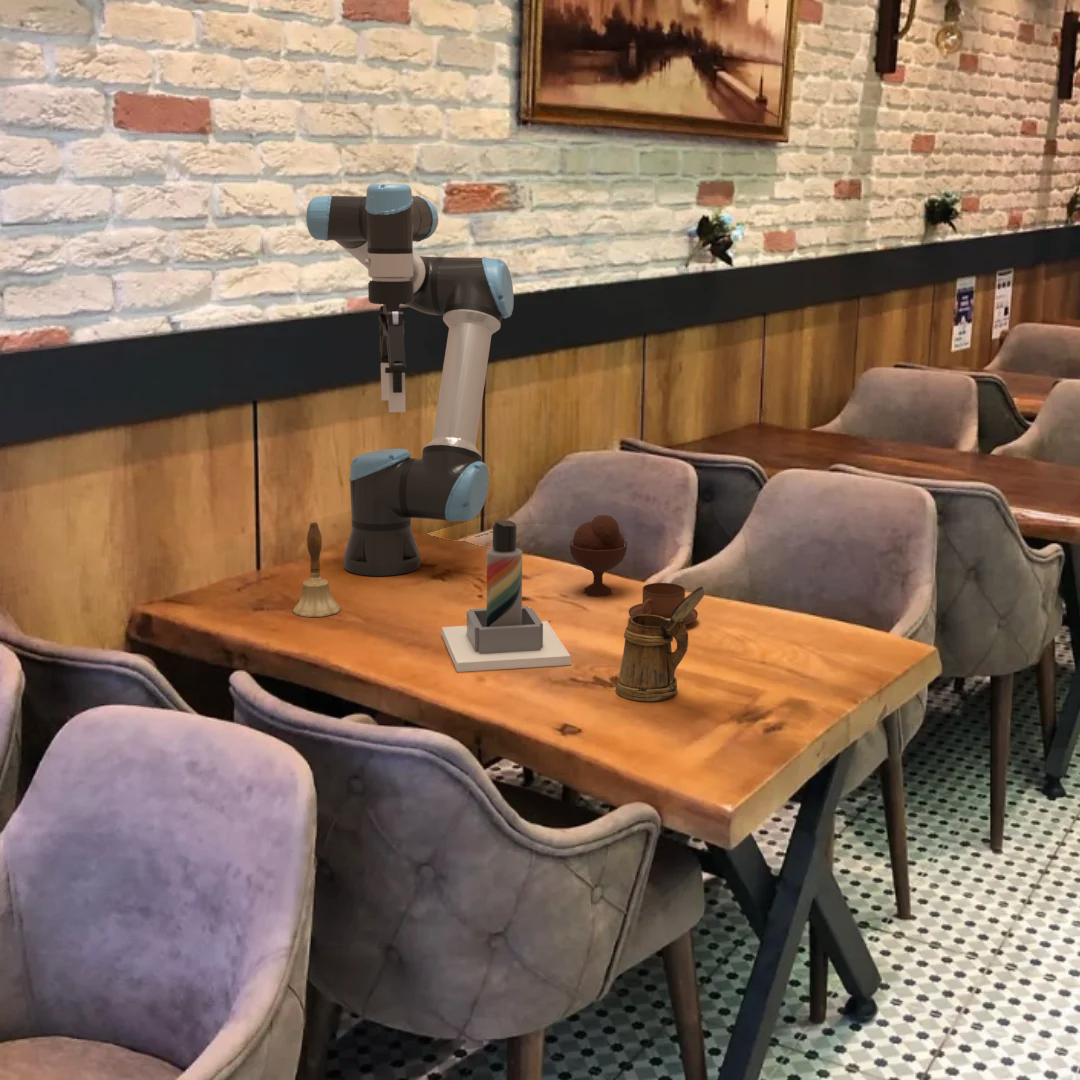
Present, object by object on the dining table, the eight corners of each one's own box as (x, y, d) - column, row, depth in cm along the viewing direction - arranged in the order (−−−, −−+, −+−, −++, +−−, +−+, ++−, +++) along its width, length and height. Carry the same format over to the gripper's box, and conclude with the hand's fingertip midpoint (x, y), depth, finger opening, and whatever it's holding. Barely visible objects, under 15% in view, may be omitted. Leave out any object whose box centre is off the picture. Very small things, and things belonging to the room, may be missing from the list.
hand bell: (286, 607, 236) (283, 521, 232) (330, 601, 240) (327, 516, 236) (302, 620, 229) (299, 531, 225) (347, 613, 233) (344, 525, 229)
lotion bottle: (487, 634, 217) (488, 516, 212) (522, 635, 217) (523, 517, 212) (485, 646, 211) (485, 525, 206) (520, 646, 211) (521, 525, 206)
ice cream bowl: (627, 584, 251) (629, 508, 248) (625, 601, 241) (626, 522, 237) (571, 582, 252) (572, 506, 249) (567, 599, 242) (568, 520, 238)
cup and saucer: (687, 636, 222) (689, 601, 221) (619, 628, 226) (620, 594, 225) (704, 616, 233) (705, 583, 232) (639, 609, 237) (640, 576, 236)
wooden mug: (681, 714, 188) (686, 593, 184) (604, 693, 196) (606, 576, 192) (713, 696, 195) (718, 579, 190) (637, 676, 203) (640, 564, 198)
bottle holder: (441, 635, 221) (441, 604, 220) (546, 629, 225) (547, 598, 223) (457, 672, 204) (457, 638, 203) (570, 664, 208) (570, 631, 206)
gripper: (362, 275, 231) (365, 395, 236) (374, 284, 207) (377, 417, 212) (405, 275, 232) (407, 394, 238) (421, 283, 209) (423, 416, 214)
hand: (393, 406), depth 225 cm, fingers open, 13 cm apart
